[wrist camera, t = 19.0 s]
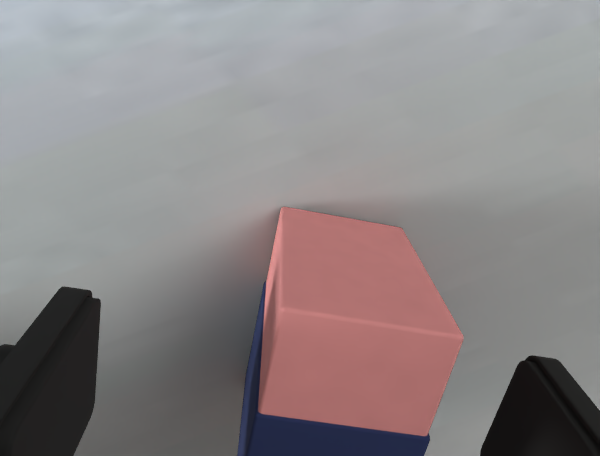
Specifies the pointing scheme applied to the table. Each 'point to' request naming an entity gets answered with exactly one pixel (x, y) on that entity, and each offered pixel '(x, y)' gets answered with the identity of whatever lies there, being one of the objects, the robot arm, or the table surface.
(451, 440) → the table surface
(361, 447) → the eraser
